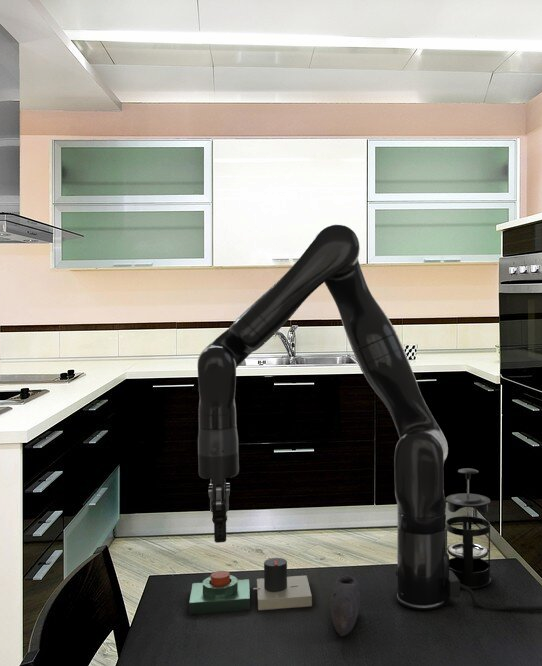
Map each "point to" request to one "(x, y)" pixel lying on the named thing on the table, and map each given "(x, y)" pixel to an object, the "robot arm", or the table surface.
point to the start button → (220, 578)
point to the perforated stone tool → (345, 602)
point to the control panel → (285, 594)
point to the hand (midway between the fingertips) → (220, 541)
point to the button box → (219, 596)
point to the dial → (275, 574)
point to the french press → (469, 538)
